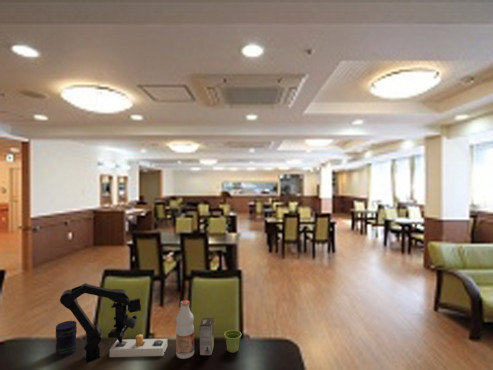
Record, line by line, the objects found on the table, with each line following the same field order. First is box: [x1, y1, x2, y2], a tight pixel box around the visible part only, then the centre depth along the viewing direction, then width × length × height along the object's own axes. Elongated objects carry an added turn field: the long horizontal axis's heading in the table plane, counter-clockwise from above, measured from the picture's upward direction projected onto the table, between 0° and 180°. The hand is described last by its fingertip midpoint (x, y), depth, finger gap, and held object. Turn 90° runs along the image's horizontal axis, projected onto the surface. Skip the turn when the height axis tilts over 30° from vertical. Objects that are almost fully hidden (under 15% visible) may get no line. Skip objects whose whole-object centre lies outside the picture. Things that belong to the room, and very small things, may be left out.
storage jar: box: [55, 320, 78, 358], centre depth 163 cm, size 10×10×15 cm
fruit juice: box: [175, 299, 195, 360], centre depth 160 cm, size 9×9×28 cm
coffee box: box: [199, 317, 215, 356], centre depth 163 cm, size 9×6×16 cm
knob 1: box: [117, 341, 125, 347], centre depth 163 cm, size 4×4×3 cm
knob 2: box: [154, 340, 162, 346], centre depth 163 cm, size 4×4×3 cm
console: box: [109, 338, 168, 358], centre depth 163 cm, size 28×10×4 cm, turn 92°
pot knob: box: [135, 334, 144, 346], centre depth 163 cm, size 4×4×5 cm
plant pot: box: [224, 329, 242, 353], centre depth 164 cm, size 9×9×9 cm
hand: (120, 342), depth 163 cm, fingers closed
